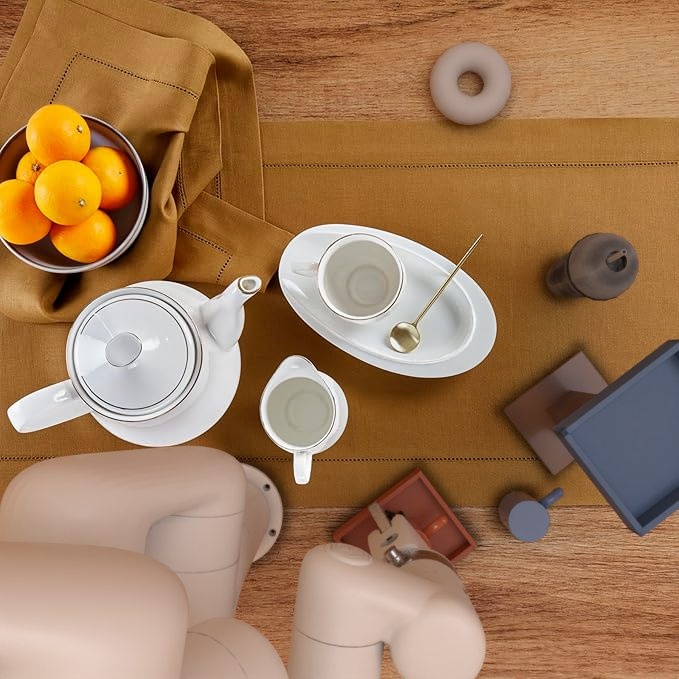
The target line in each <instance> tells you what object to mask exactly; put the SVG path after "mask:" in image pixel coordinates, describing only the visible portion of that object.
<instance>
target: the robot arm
mask: <svg viewBox="0 0 679 679" xmlns="http://www.w3.org/2000/svg"><path fill="white" fill-rule="evenodd" d="M267 485H268V487H266V486H267ZM374 501H375V500H374ZM374 501H373V502H374ZM369 505H370V504H369ZM368 509H369V511H370V512H371V514H372V516H373V518H374V519H375V522H376V523H377V525H378V526H379V530H374V531H373V532H372V533H371V534H370V535H369V536H368V544H369V549H370V552H371V555H372V556H371V555H370V554H368V553H367V552H365V551H364V550H362V549H360V548H358V547H355V546H352V545H348V544H344V543H336V542H329V543H325V544H319V545H318V544H317V545H316V546H313V547H312V548H310V549H309V550H308V551H307V552H305V554H304V556H303V559H302V560H301V564H300V566H299V567H300V568H299V573H298V579H297V585H296V592H295V593H296V594H295V599H294V600H295V602H294V609H293V615H292V616H293V617H292V624H291V633H290V640H289V648H288V654H287V662H286V666H285V665H284V663H283V660H282V658H281V656H280V655H279V653H278V652H277V650H276V648H275V646H274V645H273V644H272V643H271V641H270V640H269V639H268V638H267V637H266V636H265V635H264V634H263V633H262V632H261V631H260V630H259V629H257V628H256V627H254V626H253V625H251V624H250V623H248V622H246V621H244V620H241V619H238V618H235V615H236V612H237V607H238V605H239V604H238V603H239V600H240V595H241V593H242V592H241V591H242V589H243V586H244V582H245V580H246V577H247V575H248V573H249V571H250V569H251V567H252V564H253V563H254V562H256V561H258V560H259V559H261V558H263V557H264V556H265V554H267V553H268V552H269V551H270V550H271V548H272V547H273V546H274V544H275V543H276V541H277V539H278V537H279V535H280V533H281V531H282V526H283V521H284V506H283V502H282V497H281V494H280V492H279V491H278V487H277V486H276V485H275V483H274V482H273V481H272V479H271V478H270V477H269V476H268V475H267V474H266V473H265V472H263V471H262V470H260V469H259V468H257V467H255V466H253V465H251V464H248V463H244V462H240V461H239V460H238V459H236V457H235V456H233V455H231V454H230V453H228V452H226V451H224V450H221V449H218V448H216V447H215V448H214V447H209V446H204V445H203V446H202V445H173V446H159V447H149V448H148V447H147V448H138V449H136V448H135V449H126V450H125V449H124V450H114V451H102V452H90V453H89V452H88V453H79V454H71V455H64V456H57V457H52V458H48V459H44V460H42V461H38V462H35V463H33V464H32V465H29V466H28V467H25V468H24V469H22V471H20V472H19V473H18V474H16V476H14V477H13V479H12V480H11V481H10V482H9V484H8V485H7V486H6V489H5V490H4V492H3V494H2V498H1V501H0V679H381V674H382V668H383V657H384V650H385V644H386V645H387V646H388V651H389V656H390V658H391V662H392V664H393V666H394V669H395V670H396V672H397V673H398V674H399V675H400V678H401V679H476V677H477V676H478V675H479V674H480V671H481V669H482V667H483V665H484V662H485V659H486V652H487V639H486V633H485V630H484V626H483V624H482V622H481V621H482V620H481V619H480V617H479V615H478V612H477V611H476V609H475V607H474V604H473V603H472V601H471V598H470V596H469V594H468V592H467V590H466V588H465V586H464V584H463V581H462V579H461V577H460V575H459V574H458V570H457V569H456V568H455V566H454V565H453V564H452V563H451V562H450V561H449V560H448V559H447V558H446V557H445V556H443V555H442V554H440V553H439V552H436V551H434V550H431V549H430V548H429V547H428V545H427V544H426V543H425V541H424V540H423V539H422V538H421V537H420V535H419V534H418V533H417V532H416V531H415V529H414V528H413V527H412V526H411V525H410V523H409V522H408V521H407V520H406V517H405V514H404V513H403V512H402V511H400V512H399V513H397V514H396V515H395V513H394V512H391V511H388V510H387V509H386V510H384V509H383V507H382V506H381V505H380V504H379V503H378V502H377V501H375V502H374V503H373V504H372V505H370V506H369V507H368ZM272 531H274V532H272Z"/></svg>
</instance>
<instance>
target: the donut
mask: <svg viewBox="0 0 679 679" xmlns="http://www.w3.org/2000/svg"><path fill="white" fill-rule="evenodd" d="M469 72H471V73H475V74H477V75H478V76H479V77H480V78H481V80H482V82H483V88H482V90H481V91H480V92H479V93H478V94H476V95H467V94H465V93H463V92H462V91H461V90H460V88H459V86H458V79H459V77H460V76H461V75H462V74H464V73H469ZM512 85H513V79H512V72H511V68H510V67H509V65H508V63H507V61H506V59H505V57H504V56H503V55H502V54H501V53H500V52H499V51H498V50H496V48H494V47H491V46H490V45H488V44H486V43H483V42H482V43H481V42H476V41H467V42H461V43H457V44H455V45H453V46H451V47H449V48H448V49H446V50H445V51H444V52H443V53H442V54H441V55H440V56H439V57H438V58H437V60H436V61H435V63H434V65H433V67H432V69H431V71H430V77H429V91H430V98H431V100H432V101H433V104H434V106H435V107H436V109H437V110H438V112H440V113H441V114H442V115H443V116H444V117H445V118H446V119H448V120H450V121H452V122H454V123H456V124H460V125H465V126H473V125H481V124H484V123H486V122H488V121H490V120H491V119H494V118H495V117H496V116H497V115H498V114H499V113H500V112H501V111H502V110H503V109H504V108H505V106H506V104H507V102H508V100H509V99H510V96H511V91H512Z"/></svg>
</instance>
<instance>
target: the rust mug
mask: <svg viewBox="0 0 679 679" xmlns="http://www.w3.org/2000/svg"><path fill="white" fill-rule="evenodd" d="M406 520H407V521H408V522H409V523H410V525H411V526H412V527H413V528H414V529H415V531H416V532H417V533H418V534H419V535H420V537H421V538H422V539H423V540H424V541H425V543H426V544H427V545H428V547H429V548H430V549H431V544H430V541H429V539H428V538H429V537H431V536H432V535H433V534H435V533H436V532H437V531H439V530H440V529H441V528H443V527H444V526H445V525H446V524H447V523H448V519H447V517H446V516H444V515H441V516H439V517H438V518H437V519H435V520H434V521H433V522H431V523H430V524H429V525H427V526H426V527H425V528H424V527H423V526H422V525H421V524H420V523H419V522H418V521H416V520H414V519H411V518H406Z"/></svg>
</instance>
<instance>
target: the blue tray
mask: <svg viewBox="0 0 679 679" xmlns="http://www.w3.org/2000/svg"><path fill="white" fill-rule="evenodd" d="M608 385H609V386H607V387H606V388H605V389H603V390H602V391H601V392H599V393H598V394H597V395H596V396H594V397H593V398H592V399H590V400H589V401H588V402H586V403H585V404H584V405H582V406H581V407H580V408H579V409H577V410H576V411H575V412H573V413H572V414H571V415H569V416H568V417H567V418H566V419H564V420H563V421H562V422H560V423H559V424H558V425H556V426H555V427H554V428H552V431H553V432H554V433H555V435H556V436H557V437H558V438H559V440H560V441H561V442H562V444H563V445H564V446H565V448H566V449H567V450H568V451H569V453H570V454H571V455H572V457H573V458H574V459H575V460H574V461H576V463H577V465H578V466H579V467H580V468H581V470H582V471H583V472H584V473H585V475H586V476H587V478H588V479H589V480H590V481H591V483H592V484H593V485H594V486H595V488H596V489H597V491H598V492H599V493H600V495H602V497H603V498H604V500H605V501H606V502H607V504H608V505H609V506H610V507H611V509H612V510H613V511H614V512H615V514H616V515H617V516H618V518H619V519H620V521H621V522H622V523H623V524H624V525H625V527H626V528H627V529H628V530H629V531H630V532H632V533H634V534H636V535H637V536H638V537H640V538H643V537H644V536H645V535H648V533H650V532H651V531H652V530H653V529H655V528H656V527H657V526H659V525H660V524H661V523H662V522H664V521H666V519H667V518H669V517H670V516H672V515H673V514H675V512H677V511H678V510H679V338H676V339H667V340H665V342H663V343H662V344H661V345H659V346H658V347H657V348H656V349H654V350H653V351H651V352H650V353H649V354H648V355H646V356H645V357H644V358H643V359H640V361H638V362H637V363H636V364H634V366H633V365H632V367H631V368H629V369H628V370H627V371H626V372H624V373H623V374H622V375H620V376H619V377H618V378H616V379H615V380H614V381H612V382H611V383H610V384H608Z"/></svg>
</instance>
